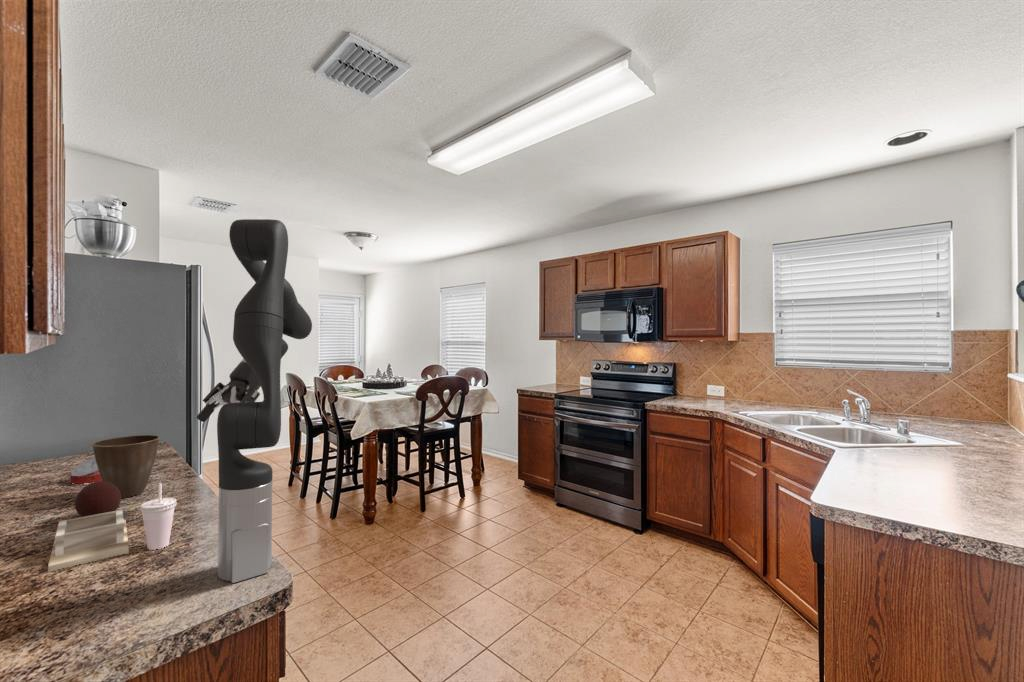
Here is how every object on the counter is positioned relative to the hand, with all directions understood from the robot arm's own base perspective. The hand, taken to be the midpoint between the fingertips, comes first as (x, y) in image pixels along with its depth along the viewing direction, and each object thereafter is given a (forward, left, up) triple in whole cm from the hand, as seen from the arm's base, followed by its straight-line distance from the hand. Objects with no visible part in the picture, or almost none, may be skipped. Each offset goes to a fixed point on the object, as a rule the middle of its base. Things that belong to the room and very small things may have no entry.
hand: (211, 422), depth 109 cm
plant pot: (+45, +14, -26) cm, 54 cm away
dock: (+7, +21, -26) cm, 34 cm away
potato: (+27, +20, -26) cm, 42 cm away
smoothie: (-3, +10, -26) cm, 28 cm away
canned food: (+70, +22, -26) cm, 78 cm away
